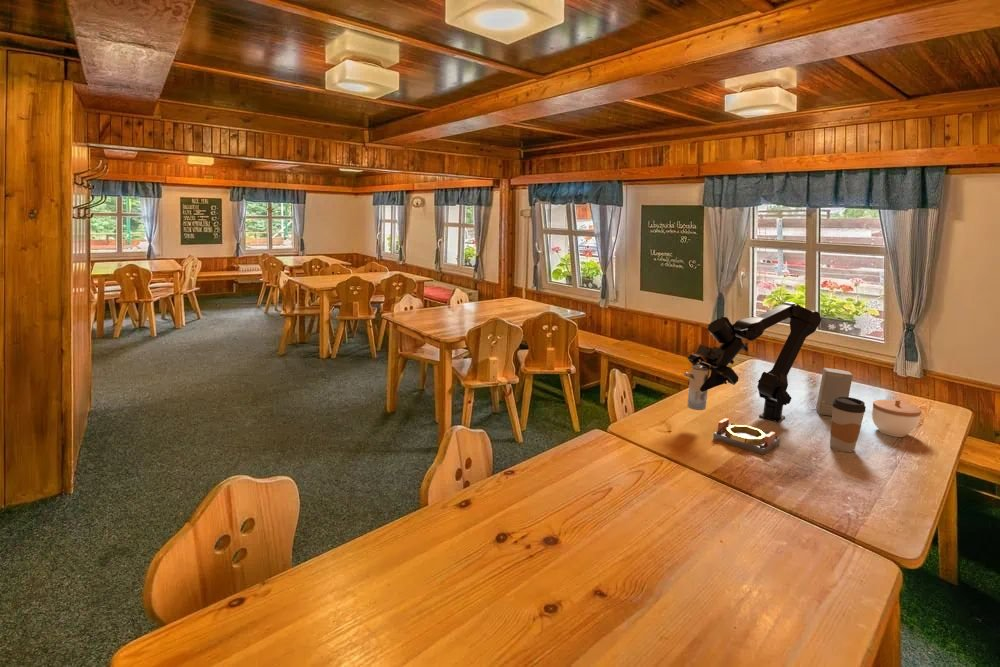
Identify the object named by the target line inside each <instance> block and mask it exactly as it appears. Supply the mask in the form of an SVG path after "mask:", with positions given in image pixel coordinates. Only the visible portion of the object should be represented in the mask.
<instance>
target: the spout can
mask: <svg viewBox="0 0 1000 667" xmlns="http://www.w3.org/2000/svg"><path fill="white" fill-rule="evenodd" d="M683 375H684V377H687V378H689V380H690V383H689V385H688V395H687V397H688V398H687V405H686V406H687V407H688V408H689V409H691V410H695V411H704V410H706V408H707V400H708V390H706V391H704V392H701V391H700V389H701V387H702V386H703V384H704V383H705V382H706V381H707V379H708V378H709V377H710V369H709V368H708V367H707V366H704V365H692V366H691V367H690V373H689V372H684V374H683Z"/></svg>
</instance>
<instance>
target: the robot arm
mask: <svg viewBox="0 0 1000 667" xmlns="http://www.w3.org/2000/svg"><path fill="white" fill-rule="evenodd" d="M786 319H790V321H789V328H790V332H789V334H788V337H787V338H786V340H785V342H784V344H783V347H782V348H781V350H780V352H779V354H778V357H777V358H776V361H775V363H774V365H773V366H772V369H770V370H769V371H767V372H766V371H763V372H762V373H761V376H760V378H759V379H758V381H757V390H758V395H759V398H763V399H764V405H763V412H762V413H760V414H759V415H758V417H760V418H761V419H762V418H763V419H766V420H769V421H773V422H777V423H778V422H780V421H782V420H783V419H786V416H785V415H782V414H783V408H784V406H787V405H789V404H790V403H791V401H792V396H791V395H790V394H789V392H788V391H787V389H788V385H789V380H788V375H789V373H790V371H791V369H792V366H793V365H794V362H795V360H796V359H797V357H798V354H799V353H800V350H801V348H802V346H803V344H804V342H805V340H806V338H808V337H809V336H810V335H812V334H813V333H814V332H816V330H817V329H818V327H819V325H820V324H821V323H822V322H821V321H822V317H821V314H820V312H819V311H817V310H811V309H809V308H805V307H803V306H801V305H799V304H798V303H795V302H789V301H785V302H782V303H781V304H780V305H778V306H776V307H773V308H772V309H770V310H768V311H765V312H764V313H762V314H761V313H760V315H757V316H756V317H755V316H754V317H745V318H742V319H738V320H736V321H735V322H734V323H732V322H731V321H730V319H729V318H728V317H726V316H723V315H722V316H721V317H720V318H717V319H715V320H713V321H711V322H710V323H709V324H708V327H707V330H708V332H709V333H710V335H712V337H713V338H714V340H716V342H717V343H719V344H720V345H719V346H718V347H717V346H713V347H710V346H706V345H704V344H701V343H700V344H699V346H698V347H697V350H696V351H695V353H691V354H690V355H689V356H688V357H686V359H687V361H688V363H689V362H690V364H691V365H692V366H693V365H704V366H707V367H708V368H709V369H710V370H709V372H710V374H709V378H708V379H707V381H706V382H705V383H704V384H703V386H702V387H701V389H700V391H701V392H704V391H706V390H707V391H708V390H711V389H712V388H716V387H718V386H722V385H727V384H730V385H733V386H736V384H737V382H739V377H740V376H738V374H737V372H735V371H734V369H733V368H732V367H730V366H729V365H730V364H731V365H733V364H734V363H735V361H734V359H735V358H736V357H737V355H738V354H739V353H740V352H741V351H744V352H749V347H748V342H745V341H743V340H747V341H750V342H751V341H753V342H754V341H755V340H756V339H758V338H759V337H761V336H762V335H763V334H764V331H765V330H766V329H769V328H771V327H773V326H774V325H776V324H779V323H780V322H783V321H784V320H786ZM742 339H743V340H742ZM700 355H701V356H700ZM702 356H703V358H702ZM689 383H690V379H689V380H688V383H687V385H688V386H689Z"/></svg>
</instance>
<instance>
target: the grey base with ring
mask: <svg viewBox="0 0 1000 667" xmlns="http://www.w3.org/2000/svg"><path fill="white" fill-rule="evenodd" d="M729 422H730V418H728V417H727V418H723V419H722V420H719V421H718V423H717V424H718V425H717V431H715V432H713V437H712V439H713V440H715V441H718V442H721V441H722V443H724V444H727V445H731V446H733V445H734V447H736V446H737V447H736V448H740V449H742V448H743V450H746V451H748V452H752V453H755V454H758V455H761V456H764V455H766V454H767V453H769V452H770V451H771V449H772V450H773V449H775V448H776V447H777V446H779V445H780V440H781V438H780V437H779V436H776V432H775V431H770V432H767V431H762V430H761V429H759V428H757V427H752V426H750V425H745V424H744V425H743V424H741V425H740V424H736V423H730V424H729ZM774 447H775V448H774ZM768 451H769V452H768Z"/></svg>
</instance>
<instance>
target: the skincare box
mask: <svg viewBox="0 0 1000 667" xmlns="http://www.w3.org/2000/svg"><path fill="white" fill-rule="evenodd" d="M853 376H854V375H853V374H852V373H851V372H850V370H842V369H839V368H838V369H837V368H829V367H823V368H822V374H821V379H820V384H819V389H818V390H819V391H818V395H817V401H816V406H815V409H816V411H817V413H818V415H820V416H822V415H823V416H829V417H832V412H833V406H832V404H833V401H834V400H835V398H836V397H849V396H850V391H851V387H852V381H853Z"/></svg>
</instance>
